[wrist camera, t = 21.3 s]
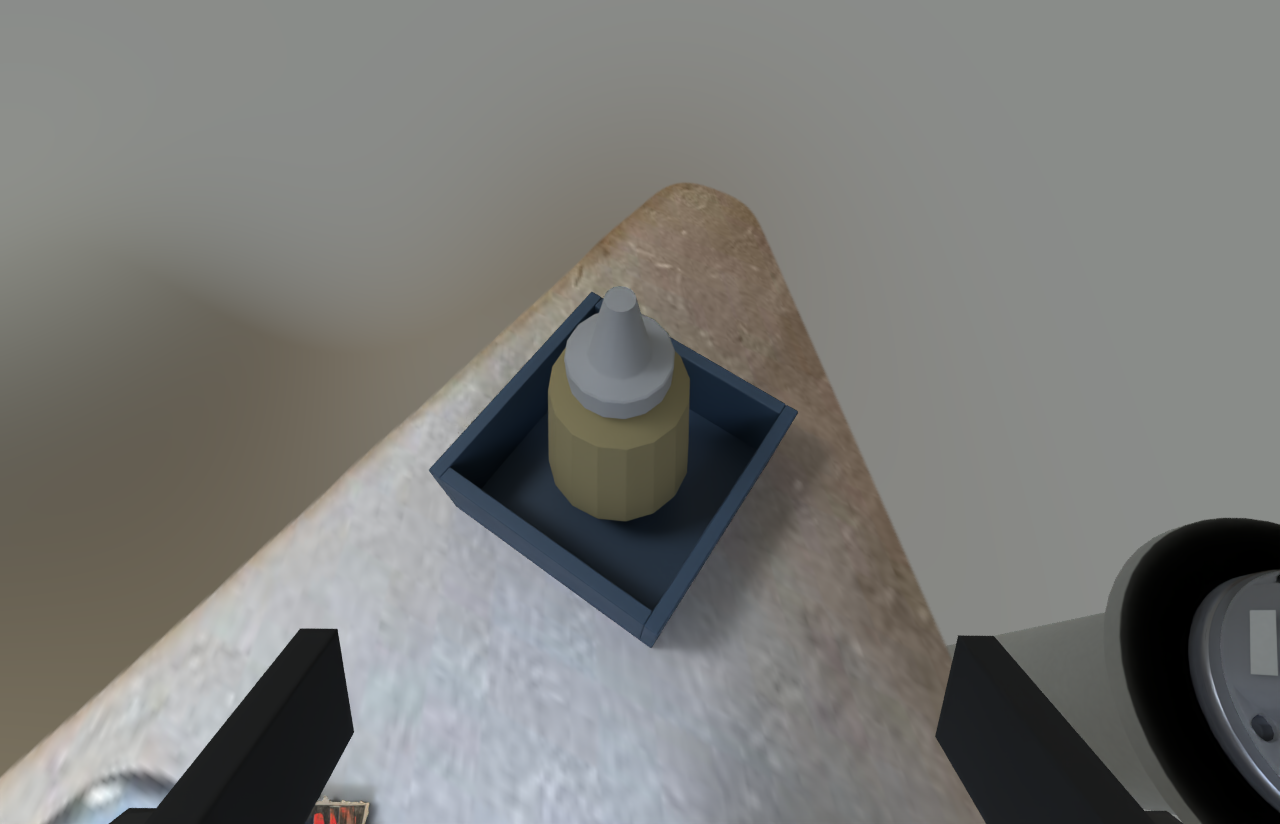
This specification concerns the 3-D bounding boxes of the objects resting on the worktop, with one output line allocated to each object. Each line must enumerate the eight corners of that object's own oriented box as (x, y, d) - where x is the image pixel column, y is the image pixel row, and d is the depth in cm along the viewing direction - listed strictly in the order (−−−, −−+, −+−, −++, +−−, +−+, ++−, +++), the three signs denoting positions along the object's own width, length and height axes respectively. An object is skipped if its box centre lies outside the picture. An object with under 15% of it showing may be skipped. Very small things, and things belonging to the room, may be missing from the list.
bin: (773, 453, 39) (798, 411, 34) (650, 648, 34) (657, 635, 28) (595, 344, 43) (591, 290, 37) (455, 505, 37) (427, 470, 32)
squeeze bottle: (590, 563, 35) (567, 436, 19) (533, 451, 38) (473, 261, 22) (706, 501, 37) (774, 338, 21) (644, 399, 40) (661, 190, 24)
